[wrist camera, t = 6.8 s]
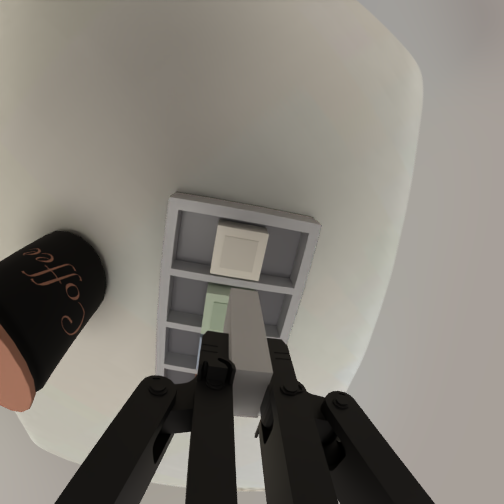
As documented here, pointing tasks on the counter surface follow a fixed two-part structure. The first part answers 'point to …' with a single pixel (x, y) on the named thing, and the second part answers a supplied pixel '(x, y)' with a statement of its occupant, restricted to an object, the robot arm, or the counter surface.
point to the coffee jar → (44, 310)
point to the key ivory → (239, 250)
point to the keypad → (198, 275)
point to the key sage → (216, 306)
